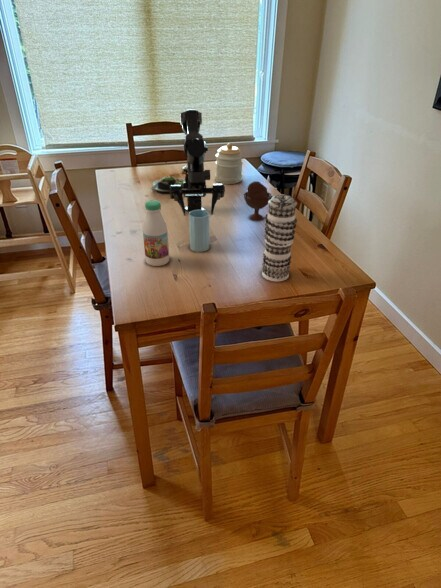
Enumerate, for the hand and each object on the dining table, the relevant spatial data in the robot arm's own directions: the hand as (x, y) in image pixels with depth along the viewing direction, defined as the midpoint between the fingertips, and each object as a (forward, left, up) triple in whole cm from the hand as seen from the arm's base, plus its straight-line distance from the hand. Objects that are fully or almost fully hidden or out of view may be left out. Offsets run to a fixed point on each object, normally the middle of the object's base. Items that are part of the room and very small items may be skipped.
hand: (198, 214), depth 138 cm
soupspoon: (-67, +33, -11) cm, 76 cm away
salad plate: (-55, +16, -11) cm, 58 cm away
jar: (-51, +46, -11) cm, 70 cm away
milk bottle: (+4, -18, -11) cm, 21 cm away
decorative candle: (+31, +9, -11) cm, 34 cm away
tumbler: (+3, -2, -11) cm, 11 cm away
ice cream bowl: (-7, +30, -11) cm, 33 cm away
